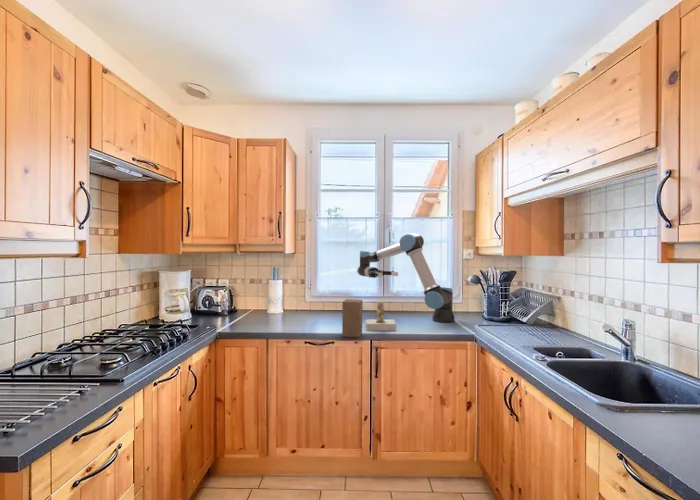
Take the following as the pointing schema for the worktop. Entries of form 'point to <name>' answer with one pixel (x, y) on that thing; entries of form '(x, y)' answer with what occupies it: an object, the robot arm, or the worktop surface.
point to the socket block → (380, 325)
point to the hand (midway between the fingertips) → (389, 274)
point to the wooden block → (352, 318)
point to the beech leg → (380, 312)
